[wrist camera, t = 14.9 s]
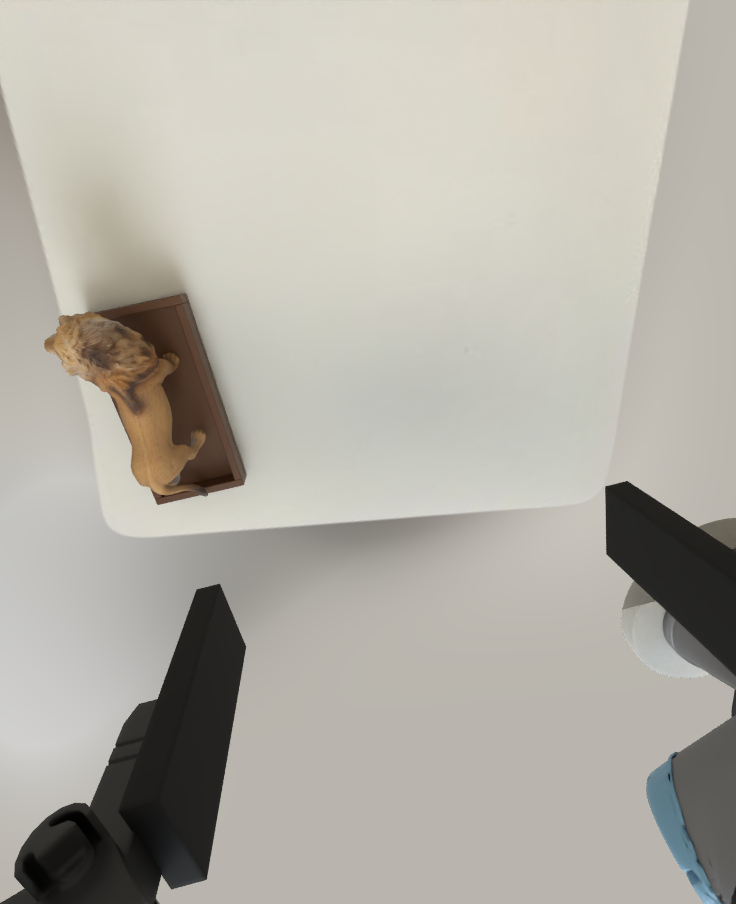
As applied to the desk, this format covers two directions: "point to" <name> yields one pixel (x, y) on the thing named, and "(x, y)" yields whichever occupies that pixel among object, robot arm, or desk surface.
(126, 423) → the lion figurine
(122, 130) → the desk surface
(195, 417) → the tray
